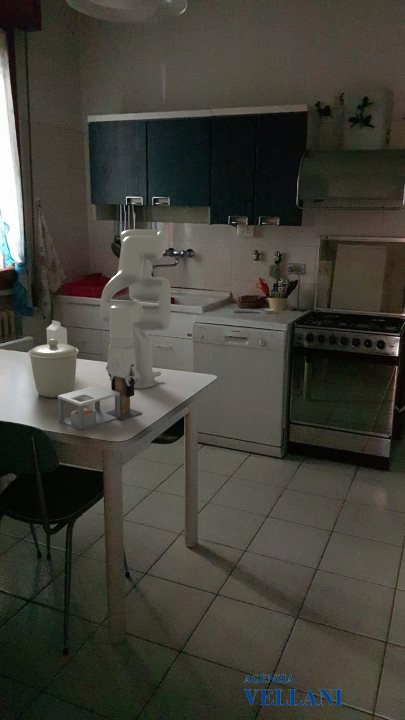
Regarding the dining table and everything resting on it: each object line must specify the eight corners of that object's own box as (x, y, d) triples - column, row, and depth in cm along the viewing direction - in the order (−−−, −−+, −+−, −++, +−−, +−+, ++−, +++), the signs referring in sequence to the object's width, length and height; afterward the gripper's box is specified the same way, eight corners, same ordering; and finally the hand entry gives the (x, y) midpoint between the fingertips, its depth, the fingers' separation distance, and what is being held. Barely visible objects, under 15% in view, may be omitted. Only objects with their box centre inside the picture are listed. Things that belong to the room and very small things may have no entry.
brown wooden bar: (123, 410, 201) (122, 371, 198) (130, 412, 199) (129, 373, 195) (116, 412, 199) (114, 373, 195) (122, 415, 196) (121, 375, 193)
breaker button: (84, 418, 191) (84, 406, 190) (90, 421, 189) (90, 409, 188) (76, 421, 189) (76, 409, 188) (82, 423, 187) (82, 411, 186)
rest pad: (124, 407, 205) (124, 406, 205) (142, 413, 199) (142, 412, 199) (104, 414, 199) (104, 412, 199) (121, 420, 193) (121, 419, 193)
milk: (56, 375, 244) (53, 323, 238) (48, 372, 248) (45, 321, 242) (69, 372, 248) (66, 321, 242) (60, 369, 252) (57, 319, 246)
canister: (62, 404, 208) (60, 346, 203) (20, 398, 214) (16, 341, 209) (89, 389, 225) (87, 336, 219) (49, 384, 231) (46, 332, 225)
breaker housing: (97, 409, 203) (96, 385, 201) (120, 417, 196) (119, 392, 193) (59, 421, 192) (57, 395, 189) (81, 430, 184) (80, 403, 182)
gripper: (96, 340, 195) (97, 390, 200) (130, 348, 184) (131, 402, 189) (113, 336, 201) (114, 386, 205) (148, 344, 190) (148, 397, 194)
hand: (122, 393), depth 197 cm, fingers open, 6 cm apart
